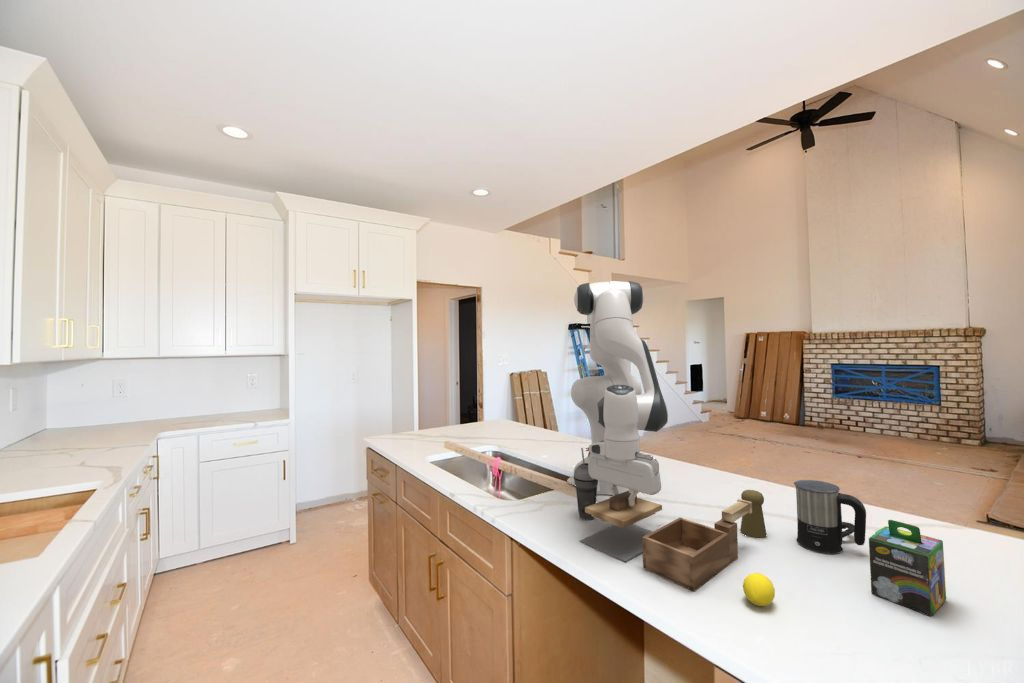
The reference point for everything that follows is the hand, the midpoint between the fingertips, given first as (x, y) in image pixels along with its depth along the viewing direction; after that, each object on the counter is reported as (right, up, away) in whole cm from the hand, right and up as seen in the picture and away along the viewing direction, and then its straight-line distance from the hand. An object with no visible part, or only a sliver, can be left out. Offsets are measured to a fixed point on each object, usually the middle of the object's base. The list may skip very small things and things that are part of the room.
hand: (623, 503), depth 110 cm
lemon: (+19, -9, -27) cm, 34 cm away
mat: (0, -10, 0) cm, 10 cm away
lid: (0, -3, 0) cm, 3 cm away
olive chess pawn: (+35, -9, +2) cm, 36 cm away
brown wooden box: (+12, -9, -12) cm, 20 cm away
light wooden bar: (+25, -1, -7) cm, 26 cm away
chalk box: (+49, -9, -26) cm, 56 cm away
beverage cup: (-7, -10, +15) cm, 19 cm away
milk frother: (+50, -9, -3) cm, 51 cm away
